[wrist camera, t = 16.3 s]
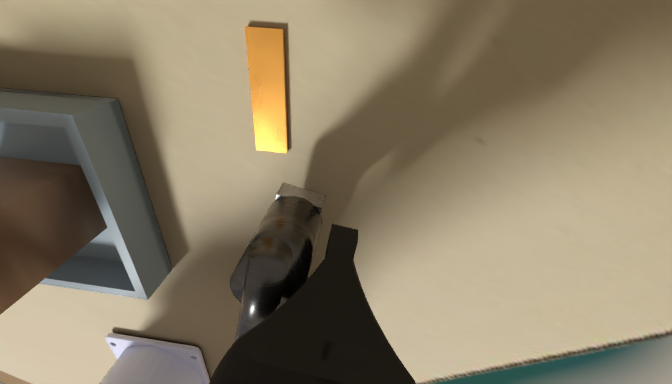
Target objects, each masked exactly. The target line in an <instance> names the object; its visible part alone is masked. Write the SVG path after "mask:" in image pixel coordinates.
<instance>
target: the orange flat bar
mask: <svg viewBox="0 0 672 384" xmlns="http://www.w3.org/2000/svg"><path fill="white" fill-rule="evenodd" d="M245 33H246V44H247V54H248V65H249V76H250V87H251V98H252V108H253V119H254V130H255V141H256V150H262V151H271V152H281V153H287V152H288V132H287V102H286V73H285V43H284V29H278V28H264V27H250V26H246V27H245ZM307 280H308V277H307V279H306V281H307Z"/></svg>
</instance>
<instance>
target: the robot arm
mask: <svg viewBox="0 0 672 384" xmlns="http://www.w3.org/2000/svg"><path fill="white" fill-rule="evenodd" d="M357 242H358V230H356V229H352V228H347V227H343V226H338V225H334V224H332V227H331V231H330V235H329V240H328V245H327V249H326V254H325V258H324V260H323V261H322V263H321V264H320V265H319V266H318V268H317V269H316V270H315V272H314V273H313V274H312V275H311V276H310V278H309V279H308V280H307V281H306V282H305V283H304V284H303V285H302V286H301V287H300V288H299V290H297V291H296V292H295V293H294V294H293V295H292V296H291V297H290V298H289V299H288V300H287V301H286V302H285V303H284V304H283V305H282V306H280V307H279V308H278V309H277V310H275V311H274V312H273V313H272V314H271V315H269V316H268V317H267V318H266V319H264V320H263V321H262V322H260V323H259V324H258V325H256V326H255V327H253V328H252V329H250V330H249V331H248V332H246V333H245V334H243V335H242V336H240V337H239V338H238V339H237V340H236V341H235V343H234V344H233V345H232V346H231V348H230V349H229V350H228V352H227V353H226V354H225V356H224V357H223V359H222V360H221V362H220V363H219V365H218V367H217V369H216V370H215V372H214V374H213V376H212V378H211V381H210V379H209V376H208V373H207V370H206V367H205V363H204V360H203V357H202V354H201V351H200V349H199V348H198V347H195V346H190V345H184V344H178V343H171V342H165V341H159V340H153V339H147V338H141V337H134V336H128V335H122V334H116V333H109V334H108V335H107V336H106V341H107V343H108V344H109V346H110V348H111V349H112V351H113V353H114V355H115V356H116V358H117V360H116V362H115V363H114V364H113V366H112V367H111V368H110V370H109V371H108V372H107V374H106V375H105V376H104V378H103V379H102V380H101V382H100V383H99V384H416V383H415V381H414V379H413V378H412V376H411V375H410V374H409V372H408V371H407V370H406V368H405V367H404V365H403V364H402V362H401V361H400V359H399V358H398V356H397V355H396V353H395V352H394V350H393V348H392V347H391V345H390V344H389V342H388V340H387V339H386V337H385V335H384V333H383V331H382V330H381V328H380V326H379V324H378V322H377V321H376V319H375V317H374V315H373V312H372V310H371V308H370V306H369V304H368V302H367V299H366V297H365V294H364V292H363V289H362V287H361V284H360V281H359V278H358V275H357V272H356V268H355V264H354V261H353V258H354V254H355V250H356V246H357ZM0 384H3V383H2V382H0Z"/></svg>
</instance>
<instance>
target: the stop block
mask: <svg viewBox="0 0 672 384" xmlns="http://www.w3.org/2000/svg"><path fill="white" fill-rule="evenodd" d="M106 228H108V227H107V225H106V222H105V220H104V218H103V216H102V213H101V211H100V209H99V206H98V204H97V202H96V199H95V197H94V195H93V192H92V190H91V188H90V185H89V183H88V181H87V179H86V176H85V174H84V172H83V169H82V167H81V165H74V164H64V163H55V162H46V161H37V160H28V159H18V158H9V157H0V314H1V313H3V312H4V311H5V310H6V309H8V308H9V307H10V306H11V305H13V304H14V303H15V302H16V301H18V300H19V299H20V298H21V297H22V296H24V295H25V294H26V293H27V292H29V291H30V290H31V289H32V288H34V287H35V286H36V285H37V284H39V283H40V282H41V281H42V280H43V279H45V278H46V277H47V276H48V275H50V274H51V273H52V272H53V271H55V270H56V269H57V268H58V267H59V266H61V265H62V264H63V263H64V262H66V261H67V260H68V259H69V258H71V257H72V256H73V255H74V254H76V253H77V252H78V251H79V250H80V249H82V248H83V247H84V246H85V245H87V244H88V243H89V242H90V241H92V240H93V239H94V238H95V237H97V236H98V235H99V234H100V233H101V232H103V231H104V230H105V229H106Z"/></svg>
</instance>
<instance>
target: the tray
mask: <svg viewBox="0 0 672 384" xmlns="http://www.w3.org/2000/svg"><path fill="white" fill-rule="evenodd" d="M0 157H9V158H18V159H28V160H37V161H46V162H55V163H64V164H74V165H81V167H82V169H83V172H84V174H85V176H86V179H87V181H88V183H89V185H90V188H91V190H92V192H93V195H94V197H95V199H96V202H97V204H98V206H99V209H100V211H101V213H102V216H103V218H104V220H105V222H106V225H107V227H108V228H106V229H105V230H104V231H103V232H101V233H100V234H99V235H98V236H97V237H95V238H94V239H93V240H92V241H90V242H89V243H88V244H87V245H85V246H84V247H83V248H82V249H80V250H79V251H78V252H77V253H76V254H74V255H73V256H72V257H71V258H69V259H68V260H67V261H66V262H64V263H63V264H62V265H61V266H59V267H58V268H57V269H56V270H55V271H53V272H52V273H51V274H50V275H48V276H47V277H46V278H45V279H43V280H42V281H41V282H40V283H39V284H46V285H52V286H59V287H66V288H72V289H79V290H85V291H92V292H99V293H105V294H112V295H119V296H125V297H132V298H138V299H145V300H148V299H149V298H150V297H151V295H152V294H153V293H154V292H155V290H156V289H157V288H158V287H159V285H160V284H161V283H162V282H163V280H164V279H165V278H166V277H167V275H168V274H169V273H170V272H171V270H172V266H171V263H170V260H169V257H168V254H167V251H166V248H165V245H164V242H163V238H162V235H161V232H160V229H159V226H158V223H157V220H156V217H155V214H154V210H153V207H152V204H151V201H150V198H149V195H148V192H147V189H146V186H145V182H144V179H143V176H142V173H141V170H140V167H139V164H138V161H137V157H136V154H135V151H134V148H133V145H132V142H131V139H130V136H129V133H128V129H127V126H126V123H125V120H124V117H123V114H122V111H121V108H120V105H119V101H118V99H115V98H104V97H93V96H83V95H72V94H61V93H50V92H40V91H29V90H18V89H7V88H0Z"/></svg>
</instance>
